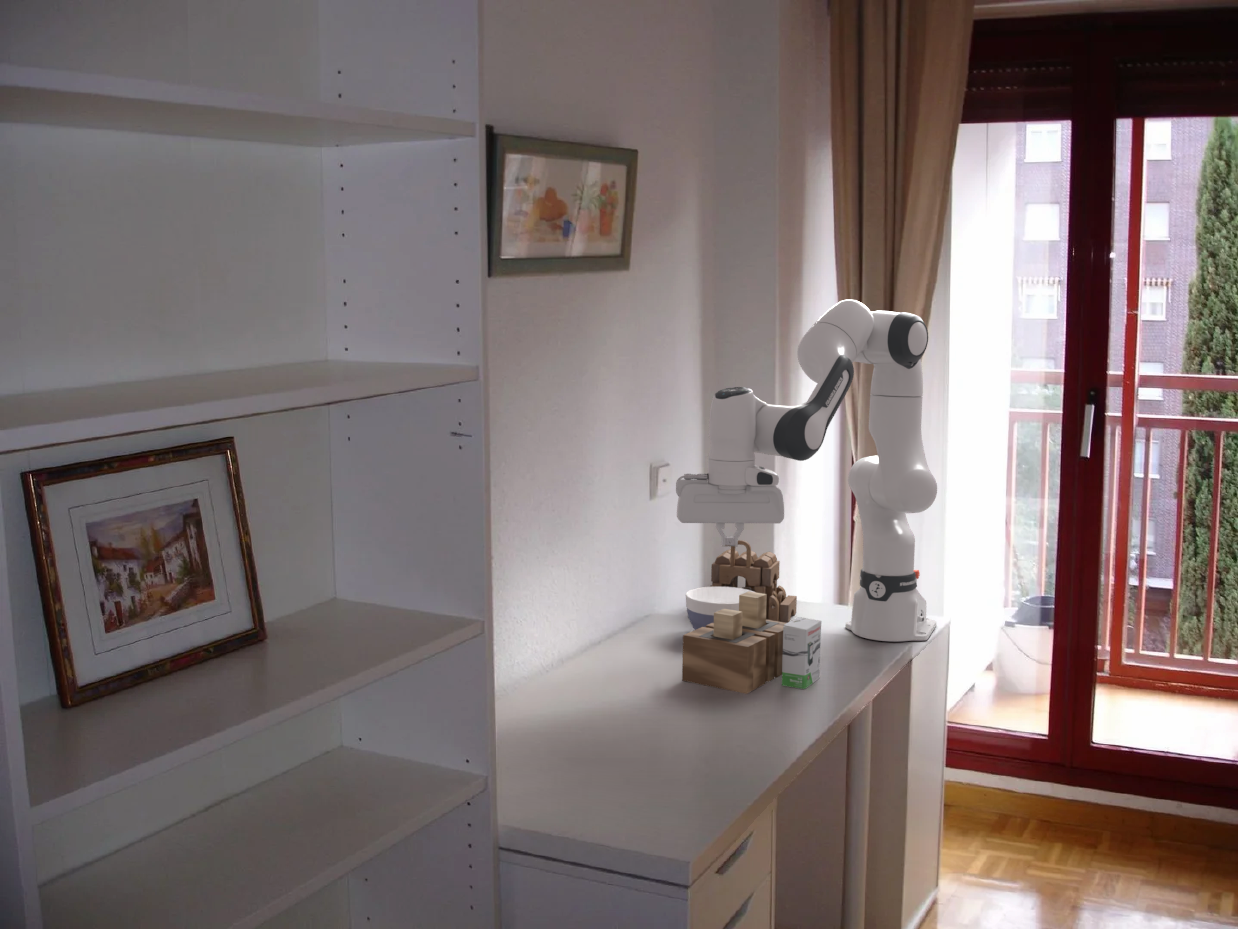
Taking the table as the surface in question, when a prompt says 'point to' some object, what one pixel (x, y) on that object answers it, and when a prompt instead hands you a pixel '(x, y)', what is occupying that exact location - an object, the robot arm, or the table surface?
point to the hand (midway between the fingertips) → (729, 546)
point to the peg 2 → (753, 609)
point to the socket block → (733, 657)
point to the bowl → (711, 603)
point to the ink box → (801, 652)
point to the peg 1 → (728, 624)
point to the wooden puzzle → (755, 579)
